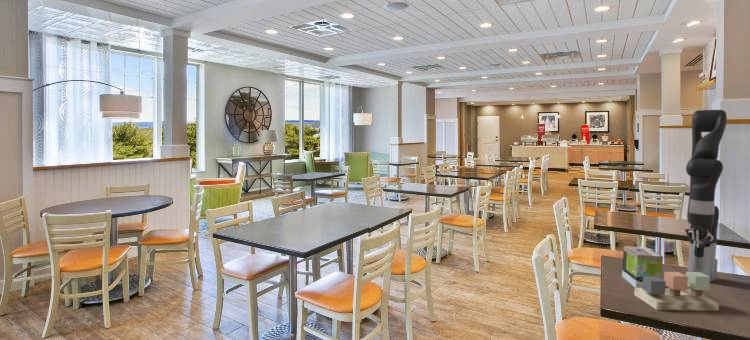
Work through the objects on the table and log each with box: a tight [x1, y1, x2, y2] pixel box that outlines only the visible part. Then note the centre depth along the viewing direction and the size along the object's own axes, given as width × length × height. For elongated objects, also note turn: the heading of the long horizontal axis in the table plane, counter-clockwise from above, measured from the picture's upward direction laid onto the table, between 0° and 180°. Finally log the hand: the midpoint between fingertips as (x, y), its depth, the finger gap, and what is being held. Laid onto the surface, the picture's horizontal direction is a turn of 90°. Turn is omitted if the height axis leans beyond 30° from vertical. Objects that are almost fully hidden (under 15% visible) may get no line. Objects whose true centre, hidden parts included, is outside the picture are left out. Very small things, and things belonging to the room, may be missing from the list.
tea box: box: [621, 245, 664, 289], centre depth 176 cm, size 15×10×15 cm, turn 168°
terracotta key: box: [663, 271, 688, 290], centre depth 156 cm, size 5×5×5 cm
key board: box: [634, 287, 720, 312], centre depth 157 cm, size 22×14×7 cm, turn 87°
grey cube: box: [643, 276, 666, 295], centre depth 157 cm, size 5×5×5 cm
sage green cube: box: [685, 271, 711, 291], centre depth 156 cm, size 5×5×5 cm
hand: (698, 256), depth 155 cm, fingers closed
